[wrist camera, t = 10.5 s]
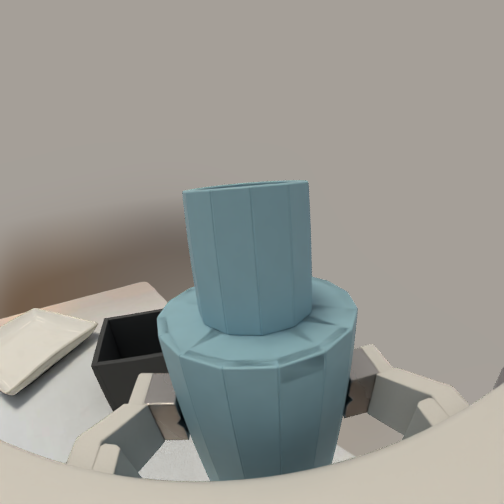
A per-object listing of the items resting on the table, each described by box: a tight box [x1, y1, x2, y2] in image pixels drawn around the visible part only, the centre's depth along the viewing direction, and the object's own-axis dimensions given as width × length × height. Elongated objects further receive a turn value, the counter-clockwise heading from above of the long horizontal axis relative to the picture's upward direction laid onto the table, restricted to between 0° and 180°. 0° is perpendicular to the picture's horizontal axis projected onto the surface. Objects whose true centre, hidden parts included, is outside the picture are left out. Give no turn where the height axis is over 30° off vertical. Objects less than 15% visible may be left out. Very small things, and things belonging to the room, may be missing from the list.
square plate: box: [0, 308, 98, 395], centre depth 41 cm, size 27×27×4 cm
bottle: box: [157, 180, 358, 481], centre depth 8 cm, size 5×5×14 cm
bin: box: [91, 309, 169, 412], centre depth 37 cm, size 14×14×9 cm
